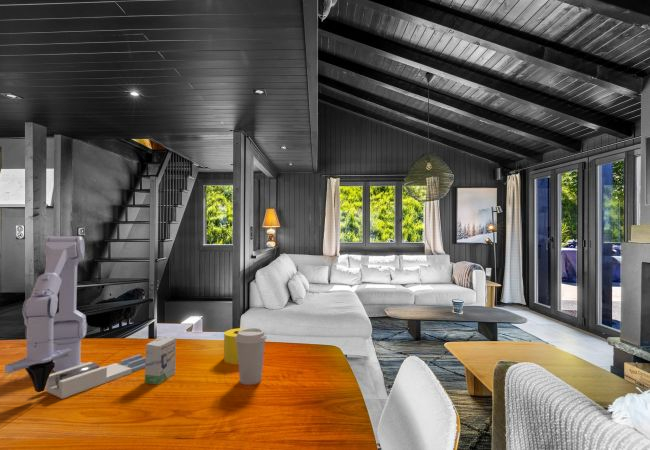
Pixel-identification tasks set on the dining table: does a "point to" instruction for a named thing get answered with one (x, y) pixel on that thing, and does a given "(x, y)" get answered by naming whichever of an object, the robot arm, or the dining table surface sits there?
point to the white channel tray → (85, 379)
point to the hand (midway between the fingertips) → (39, 390)
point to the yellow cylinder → (231, 346)
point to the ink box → (160, 360)
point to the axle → (75, 372)
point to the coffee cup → (250, 354)
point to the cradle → (134, 362)
